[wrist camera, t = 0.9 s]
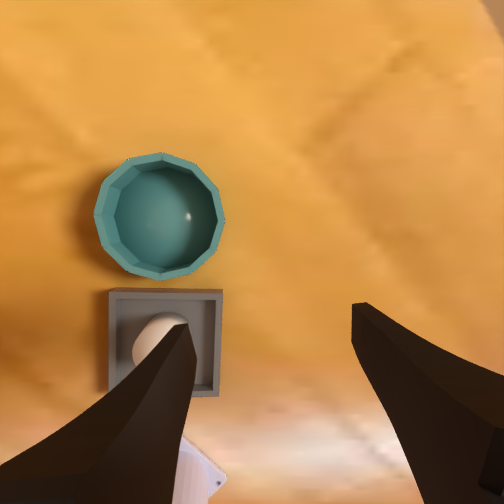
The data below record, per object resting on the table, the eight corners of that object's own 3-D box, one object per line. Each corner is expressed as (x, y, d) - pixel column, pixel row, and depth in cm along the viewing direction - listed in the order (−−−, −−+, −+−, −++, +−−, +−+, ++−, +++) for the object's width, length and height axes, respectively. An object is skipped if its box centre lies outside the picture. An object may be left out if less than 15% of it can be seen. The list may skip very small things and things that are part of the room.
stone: (167, 365, 27) (159, 388, 23) (134, 334, 26) (120, 352, 22) (201, 333, 27) (199, 352, 23) (169, 302, 26) (160, 315, 23)
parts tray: (218, 385, 28) (219, 396, 27) (115, 388, 27) (108, 400, 25) (222, 289, 28) (222, 293, 26) (115, 287, 26) (108, 292, 25)
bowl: (166, 294, 27) (159, 303, 24) (86, 214, 25) (66, 213, 22) (244, 222, 27) (248, 222, 24) (169, 140, 26) (162, 127, 22)
